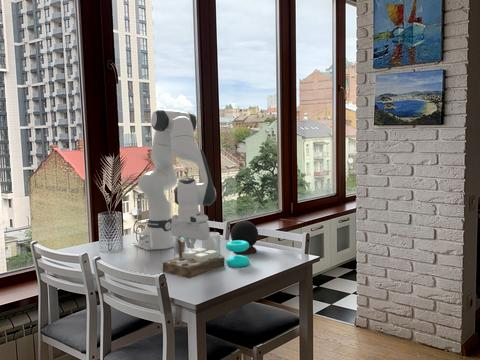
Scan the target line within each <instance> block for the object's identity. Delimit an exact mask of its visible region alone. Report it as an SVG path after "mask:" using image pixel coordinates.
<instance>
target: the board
mask: <svg viewBox="0 0 480 360" xmlns="http://www.w3.org/2000/svg"><path fill="white" fill-rule="evenodd" d="M161 263H162V273H166V274H171V275H174V276H179V277H182V278H187V279H192V278H195V277H198V276H199V275H203V274H206V273H209V272H211V271H214V270H218V269H220V268H223V267H225V265H226V264H225V256H222V255H219V256H218V258H214V259H209V260H208V261H205V262H202V263H200V262H197V261H194V259H192V260H186V259H184V258H182V257H179V258H176V259H174V258H173V259H170V260H166V261H163V262H161Z"/></svg>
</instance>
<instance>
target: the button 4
mask: <svg viewBox="0 0 480 360" xmlns="http://www.w3.org/2000/svg"><path fill="white" fill-rule="evenodd" d="M204 254H208V256H209V259H214V258H218V251H214V250H209V251H205V252H204Z"/></svg>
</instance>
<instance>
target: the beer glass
mask: <svg viewBox="0 0 480 360" xmlns="http://www.w3.org/2000/svg"><path fill="white" fill-rule="evenodd" d="M172 241H173V246H174V247H173V249H174V252H173V259H176V258H179V257H182V253H183V252H186V251H187V244H186V242H185V240H184V237H177V236H172Z"/></svg>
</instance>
